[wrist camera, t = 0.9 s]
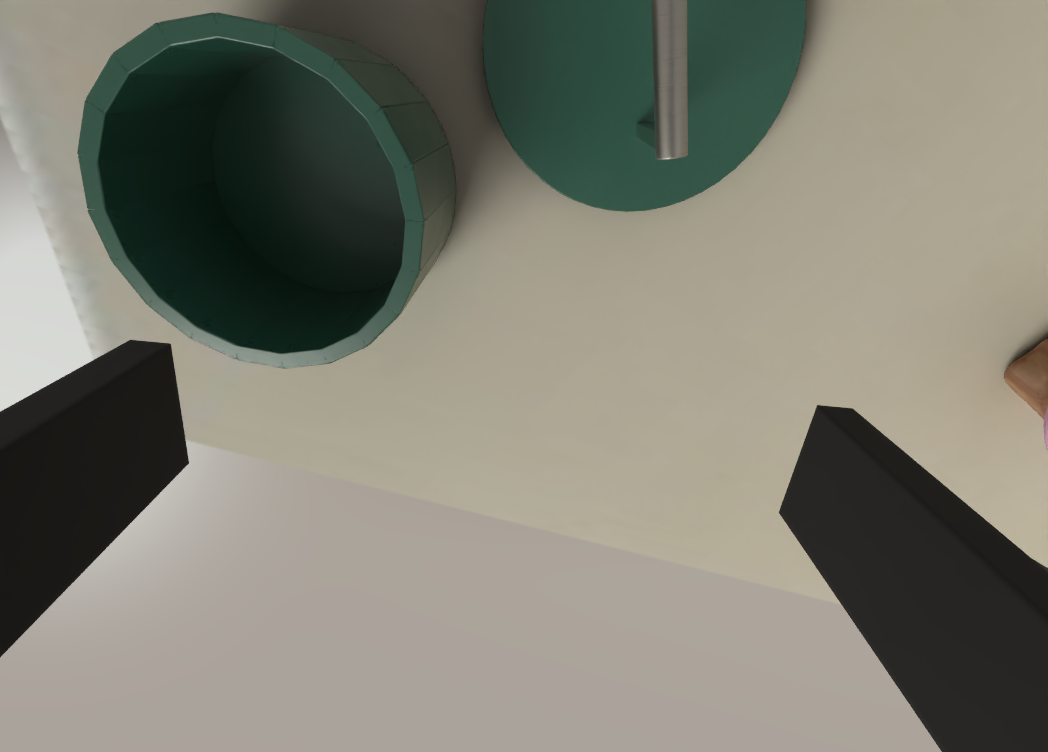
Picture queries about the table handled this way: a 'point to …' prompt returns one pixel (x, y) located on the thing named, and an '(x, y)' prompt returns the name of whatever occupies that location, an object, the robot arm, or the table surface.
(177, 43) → the lunch tin
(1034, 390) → the cupcake
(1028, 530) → the table surface
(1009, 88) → the table surface
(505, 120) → the tin lid
